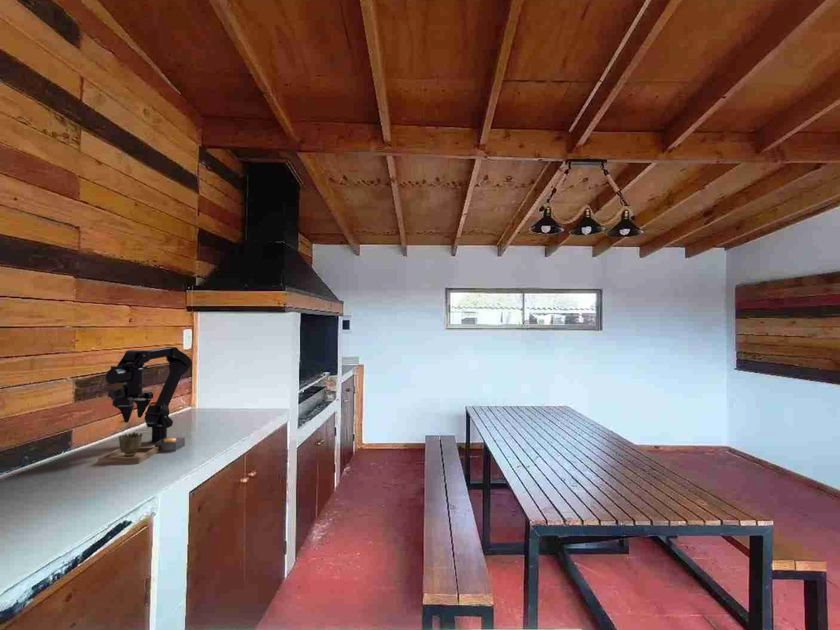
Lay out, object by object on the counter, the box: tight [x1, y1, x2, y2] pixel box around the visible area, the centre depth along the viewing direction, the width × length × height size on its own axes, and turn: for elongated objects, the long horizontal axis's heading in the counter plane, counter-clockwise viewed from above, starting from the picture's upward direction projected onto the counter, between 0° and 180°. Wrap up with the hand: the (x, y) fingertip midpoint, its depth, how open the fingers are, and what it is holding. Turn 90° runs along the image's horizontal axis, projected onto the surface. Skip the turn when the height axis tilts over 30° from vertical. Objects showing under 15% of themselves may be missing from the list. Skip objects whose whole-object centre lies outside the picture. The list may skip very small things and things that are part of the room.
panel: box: [154, 436, 186, 452], centre depth 175 cm, size 8×8×4 cm
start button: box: [164, 437, 176, 442], centre depth 175 cm, size 4×4×2 cm
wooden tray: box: [97, 446, 160, 465], centre depth 162 cm, size 14×14×2 cm
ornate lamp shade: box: [118, 432, 143, 457], centre depth 162 cm, size 8×7×8 cm
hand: (133, 419), depth 172 cm, fingers open, 9 cm apart
